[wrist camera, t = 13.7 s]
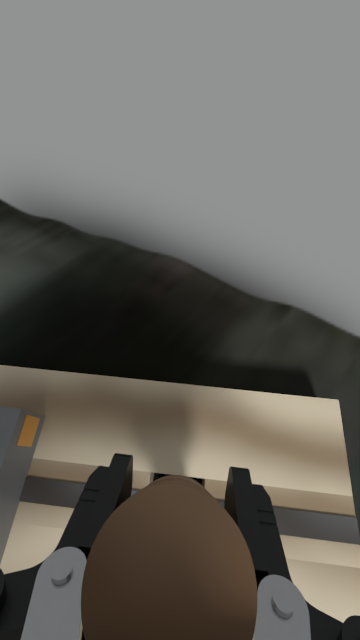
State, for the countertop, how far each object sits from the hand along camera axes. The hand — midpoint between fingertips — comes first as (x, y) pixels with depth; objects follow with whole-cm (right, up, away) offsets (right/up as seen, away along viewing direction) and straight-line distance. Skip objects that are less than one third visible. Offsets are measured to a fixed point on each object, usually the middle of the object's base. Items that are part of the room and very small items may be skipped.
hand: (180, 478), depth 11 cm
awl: (0, -5, +5) cm, 7 cm away
